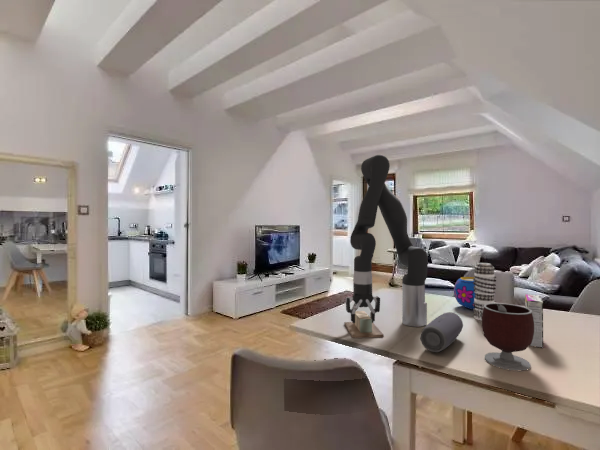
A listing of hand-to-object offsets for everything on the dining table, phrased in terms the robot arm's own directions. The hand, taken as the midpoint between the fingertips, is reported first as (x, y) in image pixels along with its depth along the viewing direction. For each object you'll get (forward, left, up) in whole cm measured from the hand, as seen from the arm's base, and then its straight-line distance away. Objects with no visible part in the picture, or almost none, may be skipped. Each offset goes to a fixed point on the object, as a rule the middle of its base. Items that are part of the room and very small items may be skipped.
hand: (362, 322), depth 133 cm
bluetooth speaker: (-24, +18, -4) cm, 30 cm away
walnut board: (0, 0, -3) cm, 3 cm away
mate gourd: (-37, +33, -3) cm, 50 cm away
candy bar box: (-59, +17, -3) cm, 62 cm away
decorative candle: (-59, -12, -3) cm, 60 cm away
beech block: (0, -7, 0) cm, 7 cm away
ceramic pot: (-64, -29, -3) cm, 70 cm away
